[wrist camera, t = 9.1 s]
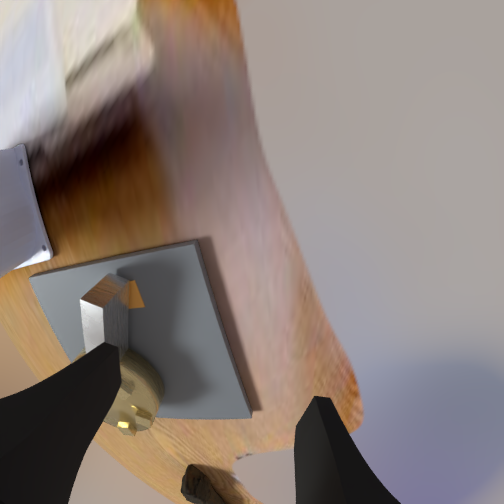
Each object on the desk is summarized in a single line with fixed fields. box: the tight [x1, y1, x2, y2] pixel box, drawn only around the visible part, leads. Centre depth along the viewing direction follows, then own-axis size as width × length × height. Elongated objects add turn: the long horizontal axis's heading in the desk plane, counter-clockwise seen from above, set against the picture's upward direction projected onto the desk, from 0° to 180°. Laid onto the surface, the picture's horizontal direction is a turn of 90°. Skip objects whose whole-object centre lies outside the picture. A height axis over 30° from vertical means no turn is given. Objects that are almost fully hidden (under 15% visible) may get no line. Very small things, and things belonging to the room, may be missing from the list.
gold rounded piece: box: [72, 273, 165, 436], centre depth 18 cm, size 14×8×4 cm, turn 166°
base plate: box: [29, 240, 252, 419], centre depth 21 cm, size 16×16×1 cm
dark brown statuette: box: [181, 465, 225, 504], centre depth 29 cm, size 19×4×5 cm, turn 7°
